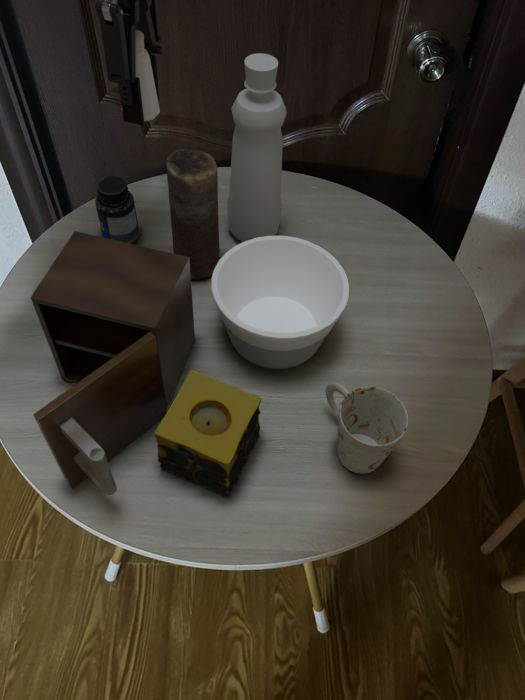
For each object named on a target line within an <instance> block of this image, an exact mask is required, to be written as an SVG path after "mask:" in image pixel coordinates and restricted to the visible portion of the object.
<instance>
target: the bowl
mask: <svg viewBox="0 0 525 700" xmlns="http://www.w3.org/2000/svg"><path fill="white" fill-rule="evenodd" d="M211 275H212V276H211V279H210V291H211V294H212V298H213V301H214V304H215V306H216V308H217V309H216V310H217V311H218V313H219V316H220V318H221V319H222V322H223V323H222V324H223V325H224V327H225V330H226V332H227V335H228V337H229V340H230V342H231V344H232V345H233V347H234V349H235V350H236V351H237V353H238V354H239V355H240V356H241V357H243V358H244V359H245V360H247V361H248V362H250V363H251V364H254V365H255V366H259V367H263V368H266V369H273V370H276V369H277V370H278V369H279V370H280V369H282V370H283V369H289V368H294V367H296V366H298V365H302V364H304V363H305V362H306V361H308V360H310V359H311V357H313V356H314V355H315V353H316V352H317V351H318V349H319V347H321V345H322V343H323V342H324V340H325V339H326V337H327V336H328V334H329V333H330V332H331V330H332V329H333V328H334V326H335V325H336V323H337V322H338V320H339V319H340V318H341V316H342V314H343V313H344V311H345V310H346V308H347V305H348V302H349V299H350V284H349V279H348V276H347V274H346V272H345V269H344V267H343V266H342V265H341V263H340V262H339V261H338V259H337V258H335V257H334V255H332V254H331V253H330V252H329V251H327V250H326V249H324V248H323V247H322V246H319V245H318V244H315V243H313V242H311V241H309V240H306V239H302V238H299V237H295V236H288V235H274V236H264V237H257V238H254V239H253V238H251V239H249V240H247V241H245V242H240V243H238V244H236V245H234V246H233V247H232V248H230V249H229V250H227V251H226V252H225V253H224V254H223V255H222V257H221V258H220V259H219V262H218V263H217V265H216V267H215V269H214V271H213V273H212V274H211Z"/></svg>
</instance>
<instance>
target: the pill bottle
mask: <svg viewBox="0 0 525 700" xmlns="http://www.w3.org/2000/svg"><path fill="white" fill-rule="evenodd" d="M127 182H128V181H126V179H125V178H124V177H122V176H119V175H115V174H111V175H106V176H103V177H101V178H100V179H99V180H98V181H97V182H96V193H97V194H96V196H95V199H94V205H95V209H96V213H97V218H98V223H99V228H100V232H101V237H104V238H108V239H113V240H117V241H121V242H126V243H130V244H134V245H135V243H137V241H138V239H139V236H140V229H139V224H138V217H137V209H136V202H135V198H134V195H133V193H132V192H131V191H130V190H129V187H128V183H127Z"/></svg>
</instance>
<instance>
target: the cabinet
mask: <svg viewBox="0 0 525 700" xmlns="http://www.w3.org/2000/svg"><path fill="white" fill-rule="evenodd" d="M192 289H193V288H192V279H191V274H190V259H189V257H187V256H182V255H178V254H174V252H170V251H165V250H161V249H156V248H152V247H147V246H143V245H138V244H135V243H134V244H130V243H126V242H121V241H117V240H113V239H108V238H104V237H102V236H99V235H94V234H91V233H87V232H82V231H77V230H74V232H72V234H71V236H70V237H69V239H68V240H67V242H66V243H65V244H64V246H63V248H62V250H61V251H60V252H59V254H58V256H56V258H55V259H54V261H53V263H52V264H51V266H50V268H49V269H48V271H46V274H45V275H44V276H43V278H42V279H41V281H40V282H39V284H38V285H37V286H36V288H35V290H34V291H33V292H32V294H31V295H30V300H31V302H32V303H31V304H32V305H33V308H34V311H35V313H36V316H37V318H38V321H39V324H40V326H41V328H42V331H43V334H44V337H45V339H46V341H47V344H48V346H49V349H50V351H51V354H52V357H53V360H54V362H55V364H56V367H57V370H58V373H59V375H60V378H61V380H62V381H65V382H68V383H72V384H74V385H75V384H77V383H78V382H80V381H81V380H82V379H84V378H85V377H87V376H88V375H90V374H91V373H92V372H94V371H95V370H97V369H98V368H99V367H101V366H102V365H104V364H105V363H107V362H108V361H109V360H111V359H112V358H114V357H115V356H116V355H118V354H119V353H121V352H122V351H123V350H125V349H126V348H128V347H129V346H131V345H132V344H133V343H135V342H136V341H138V340H139V339H140V338H142V337H143V336H145V335H146V334H147V333H149V332H151V333H152V334H153V335H154V336H155V337H156V343H157V350H158V356H159V363H160V369H161V376H162V382H163V389H164V395H165V402H166V408H168V407H169V404H170V401H171V399H172V397H173V395H174V392H175V390H176V387H177V385H178V383H179V380H180V378H181V376H182V374H183V371H184V369H185V367H186V364H187V361H188V359H189V357H190V355H191V352H192V350H193V348H194V345H195V343H196V334H195V333H196V331H195V318H194V306H193V305H194V304H193V291H192Z"/></svg>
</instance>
